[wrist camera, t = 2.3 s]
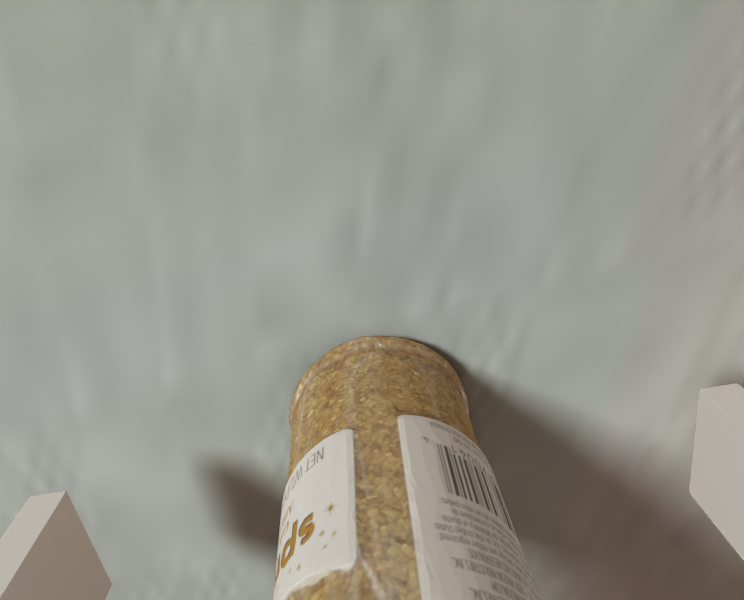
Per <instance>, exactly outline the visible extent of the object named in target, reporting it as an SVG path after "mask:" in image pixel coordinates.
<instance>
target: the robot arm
mask: <svg viewBox="0 0 744 600" xmlns="http://www.w3.org/2000/svg"><path fill="white" fill-rule="evenodd" d="M689 493H690V494H691V495H692V497H693V498H694V499H695V500H696V502H697V503H698V504H699V505H700V507H701V508H702V509H703V510H704V512H705V513H706V514H707V515H708V517H709V518H710V519H711V521H712V522H713V523H714V524H715V526H716V527H717V528H718V529H719V531H720V532H721V533H722V534H723V536H724V537H725V538H726V539H727V541H728V542H729V543H730V544H731V546H732V547H733V548H734V549H735V551H736V552H737V553H738V554H739V556H740V557H741V558H742V559H743V561H744V388H742V387H741V386H740V385H739V384H738V383H735V384H729V385H722V386H716V387H710V388H704V389H700V391H699V401H698V411H697V420H696V430H695V440H694V449H693V459H692V468H691V478H690V488H689ZM111 585H112V583H111V581H110V579H109V577H108V575H107V573H106V571H105V569H104V567H103V565H102V563H101V561H100V559H99V557H98V555H97V553H96V550H95V548H94V546H93V544H92V542H91V540H90V538H89V536H88V534H87V532H86V530H85V528H84V526H83V524H82V522H81V520H80V518H79V516H78V514H77V512H76V510H75V508H74V506H73V504H72V502H71V500H70V498H69V496H68V493H67V491H62V492H56V493H49V494H43V495H37V496H31V497H29V498H28V500H27V501H26V503H25V504H24V506H23V507H22V509H21V510H20V511H19V513H18V514H17V516H16V517H15V519H14V520H13V522H12V523H11V524H10V526H9V527H8V529H7V530H6V532H5V533H4V535H3V536H2V538H1V539H0V600H105V599H106V596H107V594H108V592H109V589H110V587H111Z"/></svg>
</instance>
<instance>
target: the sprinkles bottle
mask: <svg viewBox="0 0 744 600" xmlns="http://www.w3.org/2000/svg"><path fill="white" fill-rule="evenodd" d="M289 423H290V426H291V429H292V433H291V435H292V443H291V453H290V463H289V472H288V479H287V485H286V488H285V492H284V496H283V502H282V510H281V520H280V531H279V541H278V552H277V562H276V575H275V587H274V597H273V600H541V599H540V596H539V594H538V591H537V588H536V586H535V583H534V580H533V578H532V575H531V572H530V570H529V567H528V564H527V562H526V559H525V556H524V554H523V551H522V548H521V546H520V543H519V540H518V538H517V535H516V532H515V530H514V527H513V524H512V522H511V519H510V516H509V513H508V511H507V508H506V505H505V502H504V500H503V497H502V494H501V492H500V489H499V486H498V484H497V481H496V478H495V476H494V473H493V471H492V468H491V466H490V464H489V462H488V460H487V458H486V457H485V455H484V454H483V452H482V451H481V450H480V448H479V446H478V443H477V440H476V438H475V435H474V432H473V428H472V424H471V421H470V418H469V409H468V401H467V396H466V393H465V391H464V387H463V384H462V382H461V380H460V378H459V377H458V375H457V374H456V372H455V370H454V369H453V367H452V366H451V365H450V364H449V363H448V362H447V361H446V359H444V358H443V357H441V356H440V355H439V354H437V353H436V352H435V351H434V350H432V349H431V348H429V347H427V346H425V345H424V344H420V343H417V342H415V341H412V340H409V339H405V338H399V337H386V336H365V337H359V338H357V339H354V340H352V341H349V342H345V343H343V344H340V345H339V346H337V347H335V348H333V349H331V350H330V351H329V352H327V353H326V354H325V355H324V356H323V357H321V358H320V359H319V360H317V361H316V362H315V363H314V364H313V365H312V366H310V367H309V369H308V370H307V372H306V373H305V374H304V375H303V376H302V378H301V379H300V381H299V384H298V385H297V387H296V390H295V392H294V394H293V399H292V403H291V408H290V414H289Z"/></svg>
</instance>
